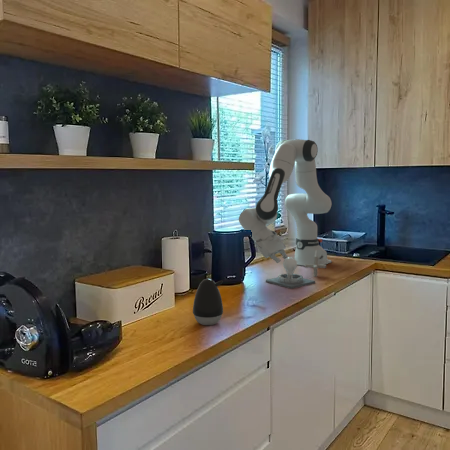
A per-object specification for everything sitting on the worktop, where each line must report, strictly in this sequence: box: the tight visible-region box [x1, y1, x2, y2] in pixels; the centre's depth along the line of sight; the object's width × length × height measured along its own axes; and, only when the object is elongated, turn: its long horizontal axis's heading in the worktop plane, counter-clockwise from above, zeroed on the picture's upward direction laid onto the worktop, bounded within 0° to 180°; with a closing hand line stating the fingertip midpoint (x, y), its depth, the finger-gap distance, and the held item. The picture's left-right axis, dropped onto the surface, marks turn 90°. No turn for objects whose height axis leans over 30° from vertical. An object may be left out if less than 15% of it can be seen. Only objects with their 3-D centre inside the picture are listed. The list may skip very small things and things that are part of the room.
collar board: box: [265, 273, 316, 290], centre depth 208 cm, size 16×16×3 cm
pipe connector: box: [304, 256, 327, 278], centre depth 220 cm, size 10×10×10 cm
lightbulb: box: [282, 256, 298, 279], centre depth 207 cm, size 6×6×11 cm
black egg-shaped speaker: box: [192, 278, 224, 326], centre depth 152 cm, size 10×10×15 cm
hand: (283, 260), depth 209 cm, fingers open, 8 cm apart
